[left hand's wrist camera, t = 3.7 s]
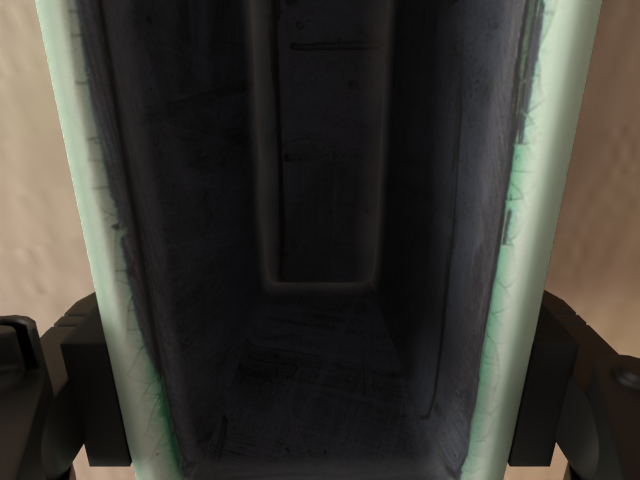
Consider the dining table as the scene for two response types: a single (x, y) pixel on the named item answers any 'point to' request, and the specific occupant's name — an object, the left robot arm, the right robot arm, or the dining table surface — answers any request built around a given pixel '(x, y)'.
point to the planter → (319, 223)
